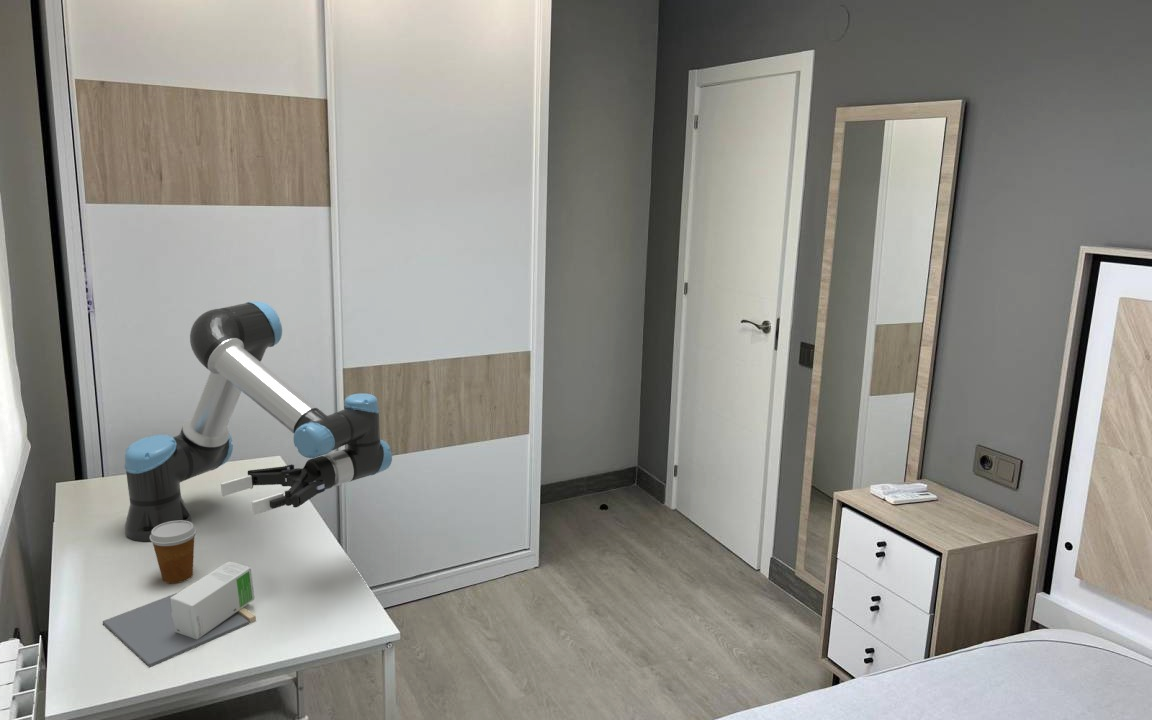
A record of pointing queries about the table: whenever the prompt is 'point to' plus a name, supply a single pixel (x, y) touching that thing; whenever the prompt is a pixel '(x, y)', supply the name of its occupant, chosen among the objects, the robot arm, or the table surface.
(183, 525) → the disposable coffee cup
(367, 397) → the robot arm
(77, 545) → the table surface
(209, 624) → the skincare box
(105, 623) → the rubber mat
